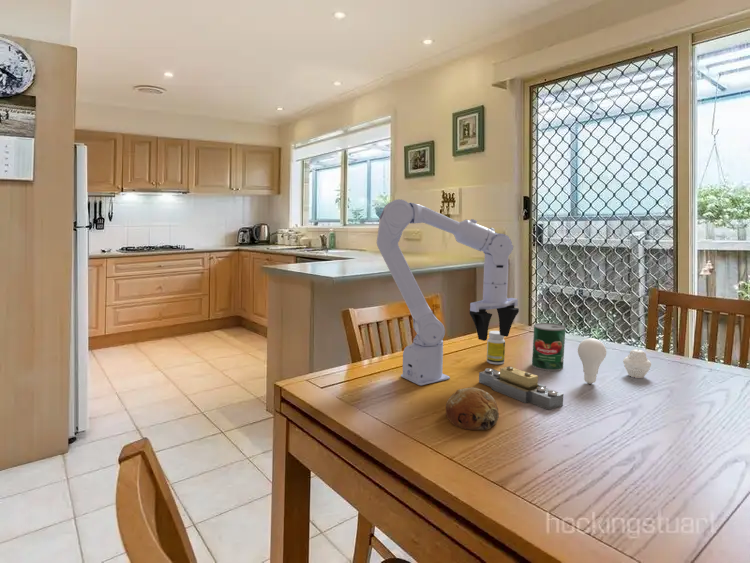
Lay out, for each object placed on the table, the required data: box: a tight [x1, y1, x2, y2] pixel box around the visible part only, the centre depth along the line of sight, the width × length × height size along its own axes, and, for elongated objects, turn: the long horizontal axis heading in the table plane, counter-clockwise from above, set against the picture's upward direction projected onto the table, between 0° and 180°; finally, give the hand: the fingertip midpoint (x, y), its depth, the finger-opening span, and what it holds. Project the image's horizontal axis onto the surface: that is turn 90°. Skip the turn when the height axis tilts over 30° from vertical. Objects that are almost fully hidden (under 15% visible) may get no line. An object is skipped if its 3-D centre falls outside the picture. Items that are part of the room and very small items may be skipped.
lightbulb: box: [577, 337, 607, 385], centre depth 109 cm, size 6×6×11 cm
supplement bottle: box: [486, 330, 506, 365], centre depth 125 cm, size 5×5×8 cm
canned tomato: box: [531, 322, 567, 372], centre depth 122 cm, size 8×8×11 cm
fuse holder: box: [478, 367, 564, 411], centre depth 103 cm, size 7×20×3 cm, turn 33°
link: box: [499, 366, 539, 391], centre depth 103 cm, size 3×8×5 cm, turn 33°
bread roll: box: [445, 387, 500, 431], centre depth 89 cm, size 10×10×8 cm
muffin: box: [622, 348, 652, 379], centre depth 114 cm, size 6×6×7 cm
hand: (493, 337), depth 113 cm, fingers open, 7 cm apart
